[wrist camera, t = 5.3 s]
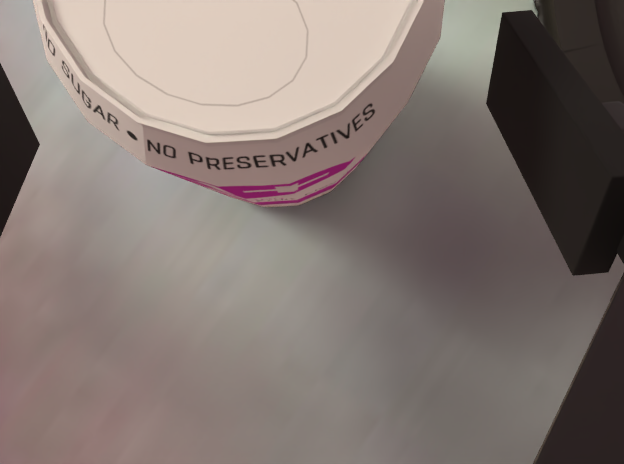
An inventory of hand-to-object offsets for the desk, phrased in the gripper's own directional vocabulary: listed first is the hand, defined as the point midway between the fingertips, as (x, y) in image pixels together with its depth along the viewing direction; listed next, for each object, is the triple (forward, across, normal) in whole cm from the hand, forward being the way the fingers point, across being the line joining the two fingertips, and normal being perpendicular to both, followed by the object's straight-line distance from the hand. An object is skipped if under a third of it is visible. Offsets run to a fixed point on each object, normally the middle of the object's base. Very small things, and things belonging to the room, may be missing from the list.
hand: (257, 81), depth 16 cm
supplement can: (+7, 0, -6) cm, 9 cm away
